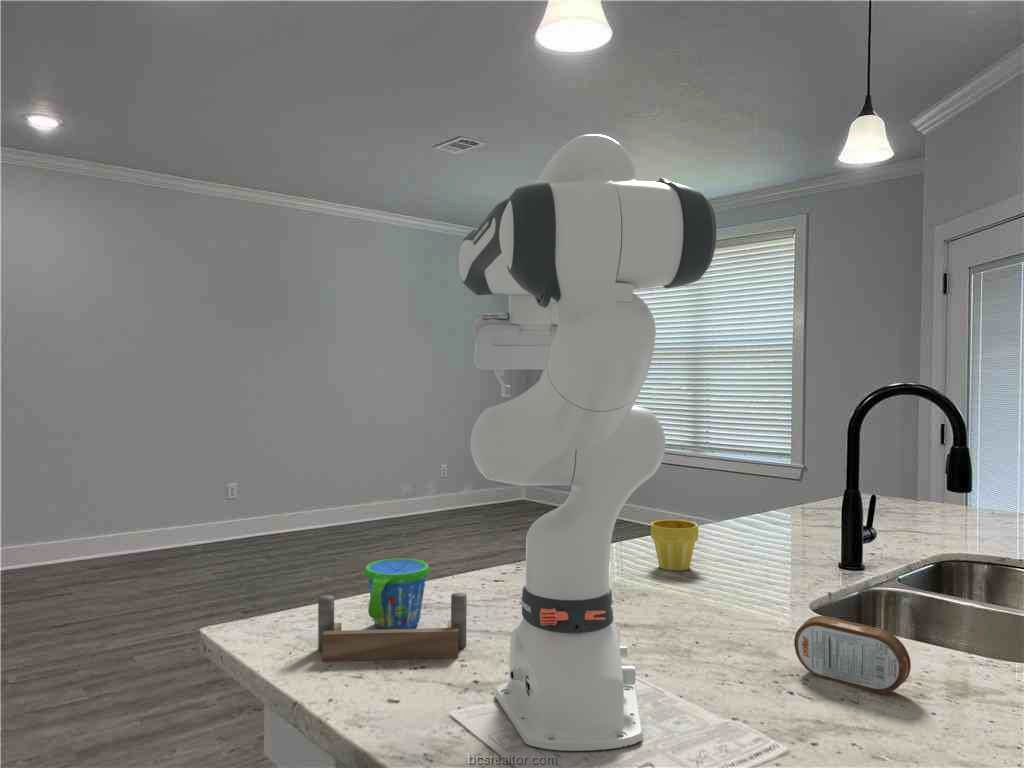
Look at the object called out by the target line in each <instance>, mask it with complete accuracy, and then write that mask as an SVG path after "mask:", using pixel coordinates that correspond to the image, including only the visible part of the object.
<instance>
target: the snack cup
mask: <svg viewBox="0 0 1024 768" xmlns="http://www.w3.org/2000/svg"><path fill="white" fill-rule="evenodd" d="M429 573H430V566H429V565H428V563H427V562H425V561H423V560H420V559H413V558H402V557H401V558H399V557H398V558H387V559H380V560H376V561H373V562H370V563H368V564H367V565H366V566H365V568H364V576H365V577H366V580H367V583H368V589H369V603H368V608H367V609H368V610H367V612H368V615H369V617H370V618H371V619H372V620H373V621H374V627H377V628H379V630H385V629H414V628H416V626H417V625H418V624H419V622H420V619H421V612H422V607H423V600H424V594H425V593H424V592H425V587H426V579H427V576H428V575H429Z"/></svg>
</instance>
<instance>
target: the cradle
mask: <svg viewBox="0 0 1024 768" xmlns="http://www.w3.org/2000/svg"><path fill="white" fill-rule="evenodd" d="M450 596H451V598H450V599H451V600H450V602H451V603H450V606H451V607H450V619H449V620H447V627H438V628H437V627H432V628H431V627H430V628H411V629H385V630H382V629H351V630H342V622H335V596H334V595H327V594H324V595H321V596H320V595H319V596H318V598H317V599H318V600H317V603H318V605H317V608H318V610H317V611H318V613H317V615H318V616H317V623H318V626H317V650H318V651H319V652H320V651H321V652H322V662H339V661H340V662H342V661H344V662H346V661H348V662H349V661H350V662H351V661H376V660H377V661H378V660H379V661H381V660H415V659H417V660H418V659H419V660H420V659H421V660H422V659H450V658H451V659H454V658H455V659H456V658H457V659H458V658H459V649H463V648H466V647H467V613H468V612H467V611H468V610H467V606H468V605H467V599H468V598H467V593H464V592H454V593H452V594H451V595H450Z"/></svg>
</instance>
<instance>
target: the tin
mask: <svg viewBox="0 0 1024 768" xmlns="http://www.w3.org/2000/svg"><path fill="white" fill-rule="evenodd" d="M793 642H794V643H793V645H794V650H795V651H794V652H795V654H796V657H797V659H798V661H799V662H800V663H801V665H802V666H803V667H804V668H805V669H806V670H807V671H808V672H809V673H810V674H813V675H814V676H816V677H818V678H821V679H824V680H828V681H831V682H835V683H839V684H843V685H846V686H850V687H853V688H858V689H860V690H865V691H868V692H870V693H871V692H872V693H876V694H877V693H878V694H886V693H890V692H893V691H895V690H897V689H898V688H899V687H900V686H902V684H904V682H906V681H907V679H908V678H909V677H910V672H911V669H912V668H911V667H912V665H911V664H912V663H911V658H910V654H909V652H908V650H907V648H906V647H905V645H904V644H903V642H902V641H901V640H900V639H899V638H898V637H897V636H895V635H894V634H893V633H891V632H889V631H888V630H885V629H882V628H879V627H874V626H869V625H865V624H861V623H857V622H851V621H848V620H843V619H839V618H836V617H835V618H834V617H831V616H826V615H818V616H813V617H811V618H808V619H807V620H806V621H805V622H803V624H802V625H801V626H800V627H799V628H798V630H797V631H796V633H795V635H794V640H793Z"/></svg>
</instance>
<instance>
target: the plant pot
mask: <svg viewBox="0 0 1024 768" xmlns="http://www.w3.org/2000/svg"><path fill="white" fill-rule="evenodd" d="M650 537H651V539H652V540H653V542H654V543H653V544H654V547H655V552H656V557H657V561H658V567H659V568H660V569H662V570H665V569H666V571H671V570H673V572H679V571H680V572H681V571H687V570H689V569H690V567H691V564H692V560H693V559H692V558H693V554H694V549H695V545H696V542H697V541H698V540H699V525H698V524H697V523H696V522H694V521H690V520H685V519H683V520H682V519H659V520H654V521H652V522H651V523H650Z"/></svg>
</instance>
